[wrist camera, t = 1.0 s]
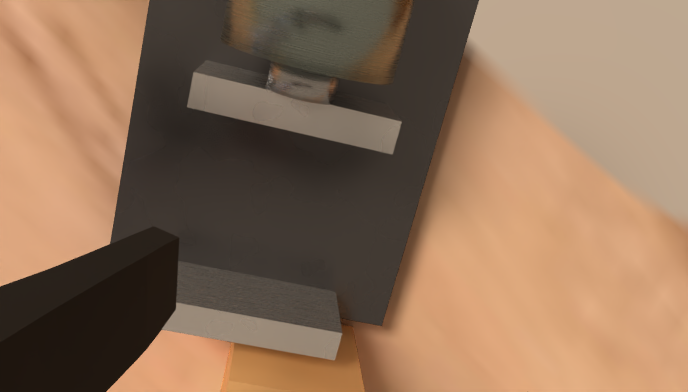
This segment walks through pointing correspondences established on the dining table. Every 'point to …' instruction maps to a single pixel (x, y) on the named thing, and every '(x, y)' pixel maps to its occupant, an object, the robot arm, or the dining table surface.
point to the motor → (286, 156)
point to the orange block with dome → (293, 369)
